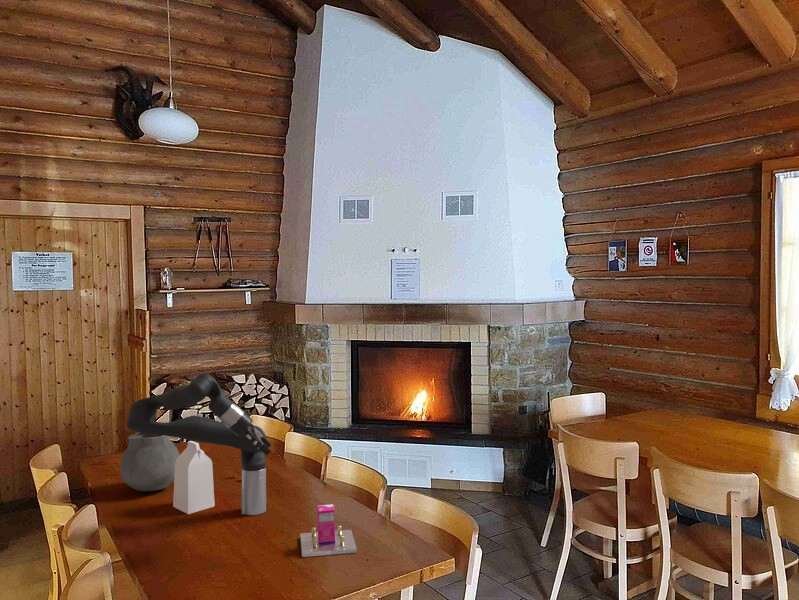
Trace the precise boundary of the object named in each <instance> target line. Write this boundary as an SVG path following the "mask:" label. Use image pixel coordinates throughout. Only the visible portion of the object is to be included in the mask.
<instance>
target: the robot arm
mask: <svg viewBox="0 0 799 600" xmlns="http://www.w3.org/2000/svg"><path fill="white" fill-rule="evenodd" d="M207 396H208V398H209V400H210V401H209V404H208V406H207V407H208V409H209V411H211V412H212V414H213V415H215V416H216V417H217V418H218V419H219V420H220V421H218V420H215V419H212V418H210V417H209V418H208V417H203V416H200V415H189V416H185V417H183V418H182V417H181V418H180V419H177V420H175V421H174V420H173V421H169V422H161V421H156V418H157V413H158V412H157V411H158V410H159V409H161V408H165V409H168V410H172V411H173V410H178V409H181V408H183V407H186V406H188V405H191V404H198V403H200V402H202V401H203V400H204V399H206V397H207ZM128 413H129V414H128V417H127V421H126V423H125V425H126V428H127V429H128V430H129V431H131V432H135V433H146V434H155V435H165V436H169V437H173V438H177V439H183V440H188V441H193V442H196V443H203V444H205V443H206V444H211V445H217V446H219V445H220V446H227V447H232V448H234V449H238V450H240V461H241V515H246V516H257V515H261V514H264V513H265V512H266V511H267V460H266V456H268V455H269V454H270V453H271V452H272V451H271V449H270V448H271V446H272V443H271V442H270V441H269V440H268V437H267V435H266V433H265V432H264V430H263V429H262V428H261V427H260V426H257V425H254V424H252V423H253V419H252V417H250V416H249V415H248V414H247V413H246V412H245V411H244V410H243V409H241V407H239V406H238V405H236V404H235V403H234V402H233V401H232V400H231V399H230V398H229V397H228V396H227V395H226V394H225V393H224V391H223V390H222V388H221V386H220V384H219V383H218V381H216V379H215V378H214V377H213V376H212V375H210V374H209V373H200V374H198V375H197V376H196V377H195V378H194V379H193V380H192V381H191V382H190V383H189V384H182V385H180V386H178V387H175V388H173V389H172V390H169V391H167V392H164V393H161V394H155V395H152V396H148V397H144V398H141V399H138V400H136V401H135V402H133V403H132V405H131V408H130V410H129V412H128Z"/></svg>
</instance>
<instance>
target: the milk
mask: <svg viewBox="0 0 799 600" xmlns="http://www.w3.org/2000/svg"><path fill="white" fill-rule="evenodd" d="M199 443H200V442H197V441H193V440H188V441H187V445H186V448H185V449H184V450H183V451H182V452H181V453H180V456H179V457H178V458H177V459H176V461H175V476H174V480H173V500H172V501H173V503H172V507H173V508H175V509H177V510H179V511H181V512H183V513H185V514H187V515H190V514H193V513H196V512H199V511H200V512H202V511H203V510H207V509H210V508H213V507H214V508H215V505H216V504H215V503H216V502H215V494H214V493H215V492H214V491H215V489H214V487H215V485H214V469H213V461H212V459H211V458H210V456H208V455H206V454H205V451H204V450H202V449H201V448H200V447H201V446H200V444H199Z"/></svg>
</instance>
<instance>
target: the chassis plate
mask: <svg viewBox="0 0 799 600" xmlns="http://www.w3.org/2000/svg"><path fill="white" fill-rule="evenodd" d="M342 528H343V527H342V525H340V524H338V525H337V530H335V543H326V544H319V539H318V531H316V529H317V527H315V526H313V527H311V532H301V533H300V535H299V536H300V538H299V539H300V548H301V558H310V557H321V556H333V555H334V556H336V555H346V554H348V555H349V554H357V552H358V551H357V549H358V548H357V544H356V542H355V538H354V535H353V532H352V529H342Z"/></svg>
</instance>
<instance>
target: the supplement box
mask: <svg viewBox="0 0 799 600" xmlns="http://www.w3.org/2000/svg"><path fill="white" fill-rule="evenodd" d="M316 508H317V509H316V512H317V513H316V516H317V532H318V539H319V544H326V543H335V531H336V520H335V518H336V517H335V515H336V514H335V513H336V512H335V505H334V504H332V503H331V504H321V505H317V506H316Z"/></svg>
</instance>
